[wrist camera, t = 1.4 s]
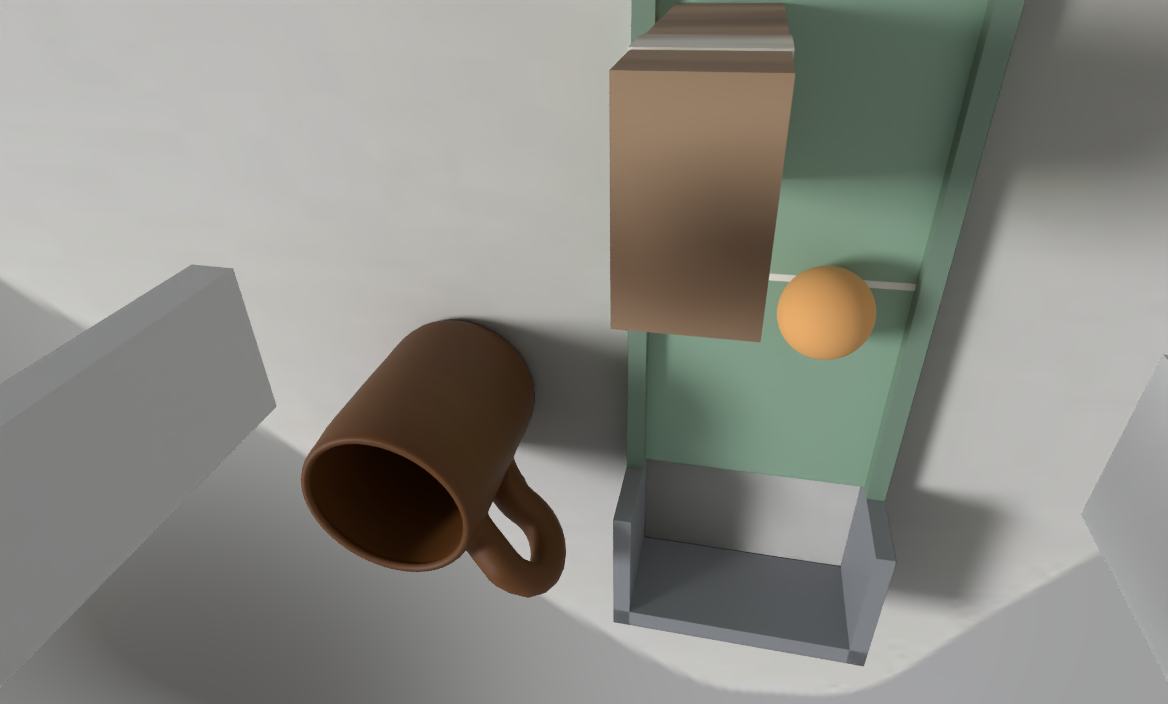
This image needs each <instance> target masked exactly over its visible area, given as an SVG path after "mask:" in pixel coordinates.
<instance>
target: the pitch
mask: <svg viewBox="0 0 1168 704" xmlns="http://www.w3.org/2000/svg"><path fill="white" fill-rule="evenodd" d="M676 3H785V9H786V16H787V22H788V29H789V35H792V36H793V42H794V48H795V50H794V58H793V61H794V67H795V81H794V89H793V96H792V104H791V112H790V120H789V127H788V135H787V143H786V150H785V158H784V166H783V174H782V181H781V189H780V197H779V205H778V212H777V220H776V228H775V235H774V243H773V251H772V259H771V266H770V274H769V282H768V289H767V297H766V305H765V313H764V320H763V328H762V336H761V343H760V342H749V341H738V340H727V339H717V338H706V337H695V336H684V335H673V334H662V333H651V332H640V331H629V330H628V398H627V468H626V472H625V476H624V480H623V484H622V488H621V492H620V496H619V500H618V503H617V507H616V511H615V515H614V519H613V592H614V622H616V623H622V624H628V625H633V626H639V627H644V628H650V629H656V630H661V631H667V632H673V633H678V634H684V635H690V636H695V637H701V638H707V639H712V640H718V641H724V642H729V643H735V644H741V645H746V646H752V647H758V648H763V649H769V650H775V651H780V652H786V653H792V654H797V655H803V656H809V657H814V658H820V659H826V660H831V661H837V662H843V663H848V664H854V665H860V666H864V664H865V661H866V657H867V654H868V651H869V648H870V645H871V641H872V638H873V635H874V632H875V629H876V625H877V622H878V619H879V616H880V613H881V609H882V606H883V603H884V600H885V597H886V593H887V590H888V587H889V584H890V581H891V577H892V574H893V571H894V568H895V565H896V557H895V552H894V547H893V541H892V536H891V531H890V526H889V521H888V516H887V510H886V505H885V498H886V495H887V491H888V488H889V484H890V480H891V477H892V473H893V470H894V466H895V463H896V459H897V455H898V452H899V448H900V445H901V441H902V438H903V434H904V431H905V427H906V423H907V420H908V416H909V413H910V409H911V406H912V402H913V398H914V395H915V391H916V388H917V384H918V381H919V377H920V373H921V370H922V366H923V363H924V359H925V356H926V352H927V349H928V345H929V341H930V338H931V334H932V331H933V327H934V324H935V320H936V316H937V313H938V309H939V306H940V302H941V299H942V295H943V292H944V288H945V284H946V281H947V277H948V274H949V270H950V267H951V263H952V259H953V256H954V252H955V249H956V245H957V242H958V238H959V234H960V231H961V227H962V224H963V220H964V217H965V213H966V210H967V206H968V202H969V199H970V195H971V192H972V188H973V185H974V181H975V177H976V174H977V170H978V167H979V163H980V160H981V156H982V153H983V149H984V145H985V142H986V138H987V135H988V131H989V128H990V124H991V120H992V117H993V113H994V110H995V106H996V103H997V99H998V95H999V92H1000V88H1001V85H1002V81H1003V78H1004V74H1005V71H1006V67H1007V63H1008V60H1009V56H1010V53H1011V49H1012V46H1013V42H1014V38H1015V35H1016V31H1017V28H1018V24H1019V21H1020V17H1021V14H1022V10H1023V6H1024V3H1025V0H632V21H631V44H632V43H633V42H634V41H635V40H636V39H637V38H638V37H639V36H640V35H641V34H646V33H647V32H648V31H649V30H650V29H651V28H652V27H653V26H654V25H655V24H656V23H657V22H658V21H659V20H660V19H661V18H662V17H663V16H664V15H665V14H666V13H667V12H668V11H669V10H670V9H671V8H672V7H673V6H674V5H675V4H676ZM819 266H836V267H841V268H844V269H847V270H849V271H851V272H853V273H855V274H856V275H858V276H859V277H860V278H861V279H862V280H863V281H864V282H865V283H866V284H867V285H868V287H869V288H870V290H871V292H872V294H873V296H874V299H875V303H876V321H875V325H874V328H873V330H872V332H871V334H870V336H869V338H868V339H867V340H866V342H865V343H864V344H863V345H862V346H861V347H860V348H858V349H857V350H856V351H854V352H853V353H851V354H849V355H847V356H844V357H842V358H838V359H833V360H819V359H813V358H810V357H807V356H805V355H803V354H801V353H799V352H797V351H796V350H795V349H793V348H792V347H791V346H790V345H789V344H788V343H787V341H786V340H785V339H784V337H783V335H782V333H781V331H780V329H779V326H778V321H777V306H778V301H779V299H780V296H781V294H782V292H783V290H784V288H785V287H786V286H787V284H788V283H789V282H790V281H791V280H792V279H793V278H794V277H796V276H797V275H798V274H800V273H802V272H804V271H806V270H808V269H811V268H814V267H819ZM647 459H651V460H659V461H666V462H674V463H682V464H690V465H698V466H705V467H713V468H721V469H729V470H737V471H744V472H752V473H760V474H768V475H776V476H783V477H791V478H799V479H807V480H815V481H822V482H830V483H838V484H846V485H854V486H861V488H860V492H859V496H858V500H857V504H856V508H855V512H854V516H853V520H852V524H851V528H850V532H849V536H848V540H847V544H846V548H845V552H844V556H843V560H842V563H841V567H839V566H833V565H826V564H820V563H813V562H806V561H800V560H793V559H786V558H780V557H773V556H766V555H760V554H753V553H747V552H740V551H733V550H727V549H720V548H713V547H707V546H700V545H693V544H687V543H680V542H674V541H667V540H660V539H654V538H647V537H644V532H645V499H646V467H647Z"/></svg>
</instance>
